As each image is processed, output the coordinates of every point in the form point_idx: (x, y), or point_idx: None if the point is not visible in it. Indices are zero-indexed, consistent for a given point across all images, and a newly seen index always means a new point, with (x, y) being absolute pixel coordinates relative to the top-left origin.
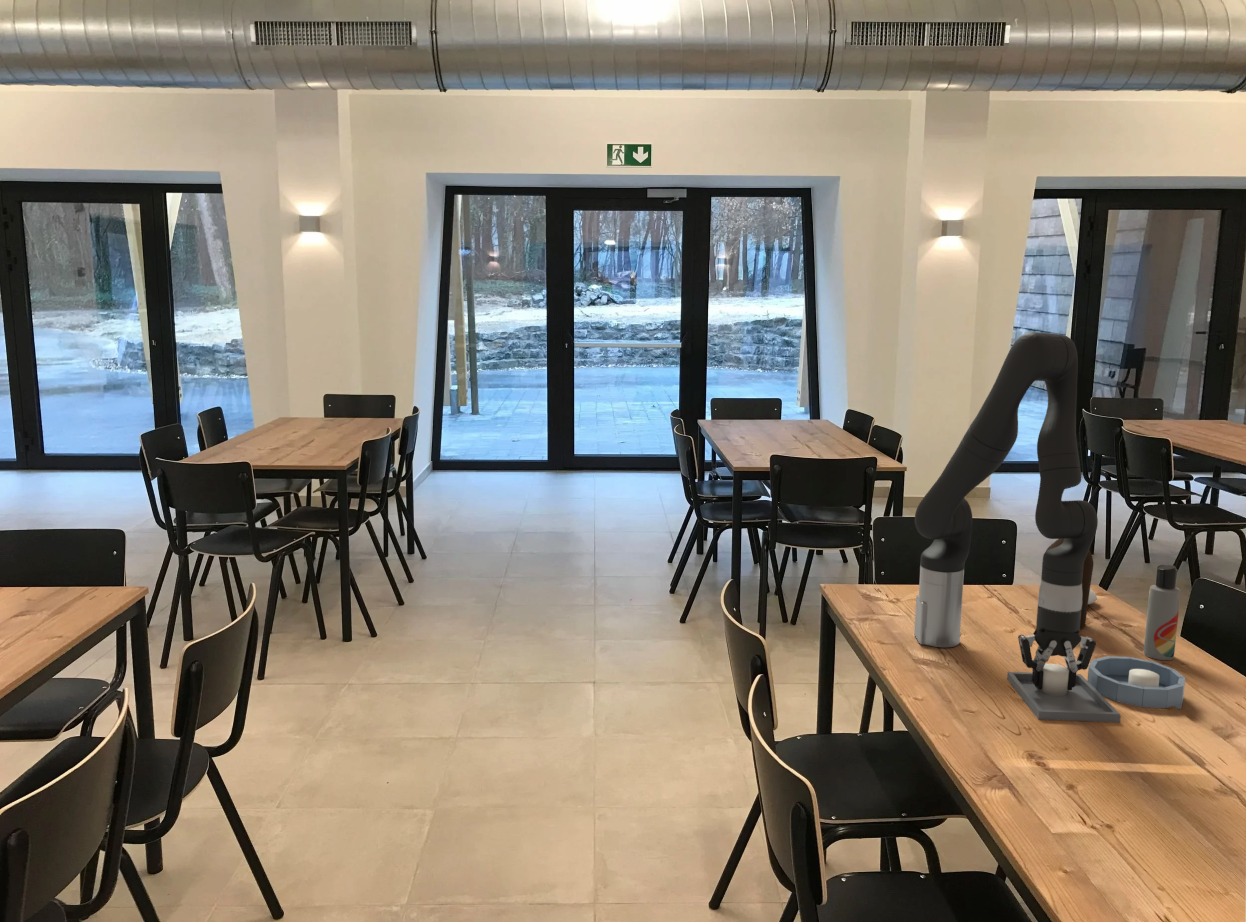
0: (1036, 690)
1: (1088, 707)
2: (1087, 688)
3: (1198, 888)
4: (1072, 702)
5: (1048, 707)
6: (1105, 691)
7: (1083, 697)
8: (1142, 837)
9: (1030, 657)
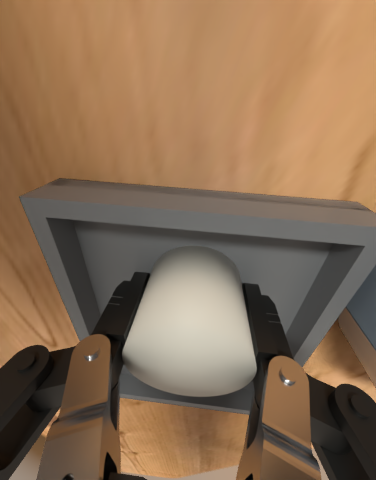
0: None
1: None
2: (310, 313)
3: (164, 473)
4: None
5: None
6: (353, 336)
7: None
8: (154, 459)
9: (19, 452)
